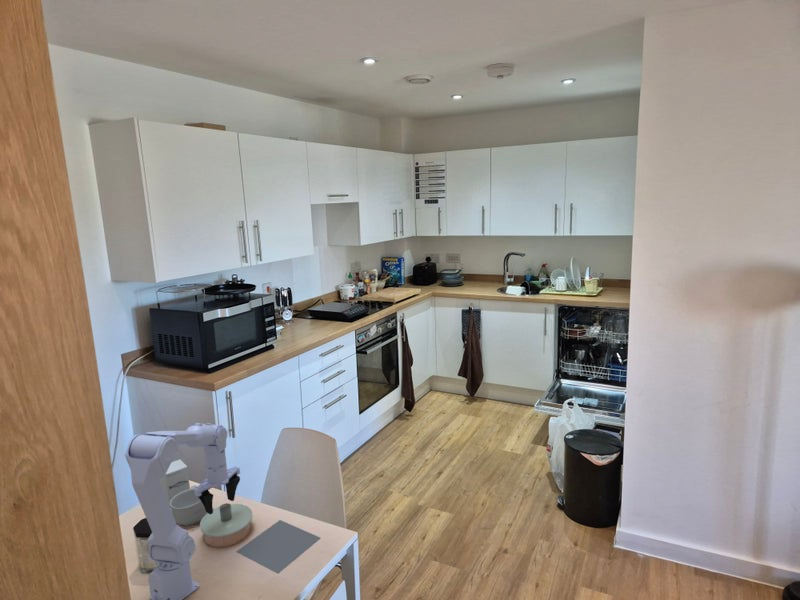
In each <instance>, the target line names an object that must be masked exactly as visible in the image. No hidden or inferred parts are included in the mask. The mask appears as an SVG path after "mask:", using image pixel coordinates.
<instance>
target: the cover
mask: <svg viewBox="0 0 800 600" xmlns="http://www.w3.org/2000/svg"><path fill="white" fill-rule="evenodd" d="M252 520H253V511H252V509H251V507H249V506H248V505H244V504H240V503H227V502H226V503H222V504H221V505H220V506H218V507H216V508H213V513H212V514H208V513H206V515H205V516H204V517H203V518H202V519H201V520H200V521H199V529H200V531H201V533H202V534H203V535H204V534H205V535H207V536H211V537H223V536H228V535H232V534H234V533H237V532H239V531H241V530H242V529H244V528H245V527H246V526H247V525H248V524H249V523H250V524H251V522H252Z"/></svg>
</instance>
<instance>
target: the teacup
mask: <svg viewBox="0 0 800 600" xmlns="http://www.w3.org/2000/svg"><path fill="white" fill-rule="evenodd" d="M196 487H197V485H192V486H190V489H188V490H185V491H182V492H180V493H178V494H177V495H175V496H174V497H173V498H172V499H171V501H170V507H171V511H172V513H173V516H174V519H175V521H176V524H177V525H181V526H187V527H189V526H194V525H196V524H197V523H200V522H201V519H202V518H203V517H204V516H205V515H206V514H207V513H206V510H205V507H204V505H203V503H202V502H201V500H200V499H199V498H198V496H196V495H194V488H196Z"/></svg>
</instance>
